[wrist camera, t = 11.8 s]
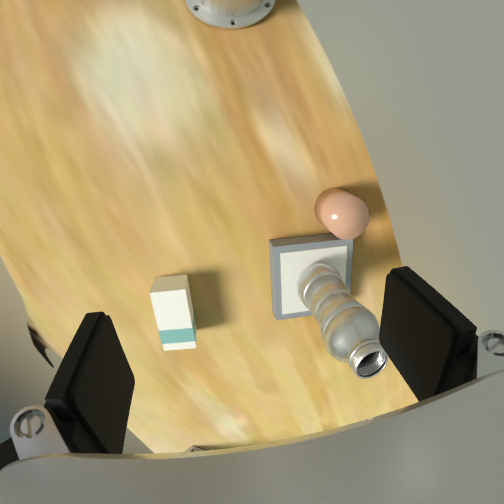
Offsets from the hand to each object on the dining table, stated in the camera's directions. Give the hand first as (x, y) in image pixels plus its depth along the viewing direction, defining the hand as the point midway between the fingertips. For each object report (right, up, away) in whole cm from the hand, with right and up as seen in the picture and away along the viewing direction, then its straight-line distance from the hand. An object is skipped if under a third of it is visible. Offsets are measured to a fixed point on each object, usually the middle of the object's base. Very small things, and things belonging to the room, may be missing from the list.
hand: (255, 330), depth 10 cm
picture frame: (+9, -1, +40) cm, 41 cm away
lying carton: (-12, -6, +39) cm, 41 cm away
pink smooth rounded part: (+12, +9, +37) cm, 40 cm away
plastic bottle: (+9, -1, +37) cm, 38 cm away
